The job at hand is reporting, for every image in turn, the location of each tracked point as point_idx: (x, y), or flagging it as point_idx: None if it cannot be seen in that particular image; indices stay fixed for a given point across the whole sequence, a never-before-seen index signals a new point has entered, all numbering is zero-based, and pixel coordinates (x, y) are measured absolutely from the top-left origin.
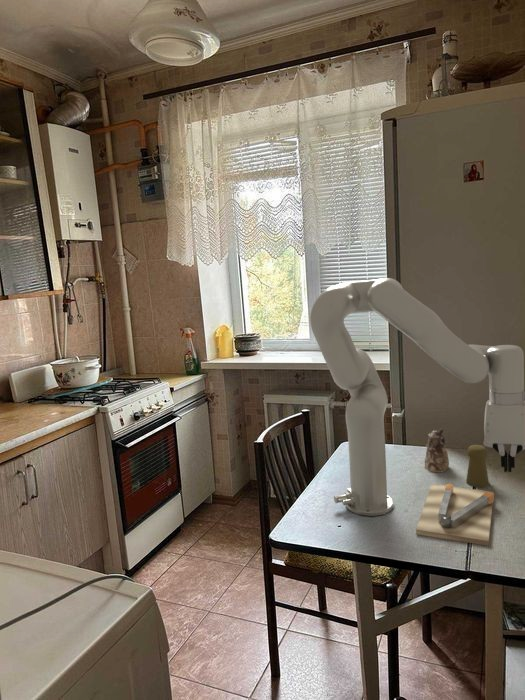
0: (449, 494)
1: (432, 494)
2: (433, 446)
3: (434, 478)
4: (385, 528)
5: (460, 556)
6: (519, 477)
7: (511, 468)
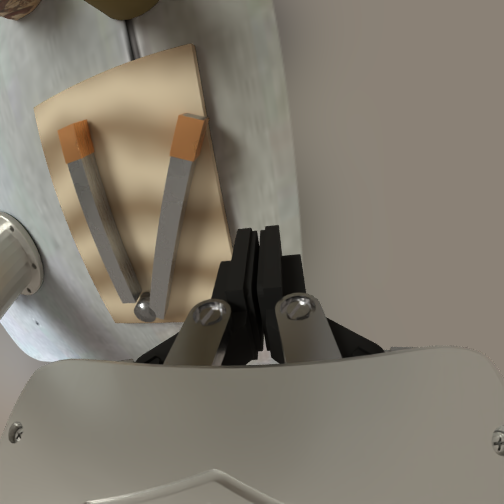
0: (90, 196)
1: (55, 163)
2: None
3: (32, 47)
4: (75, 313)
5: None
6: None
7: (281, 252)
